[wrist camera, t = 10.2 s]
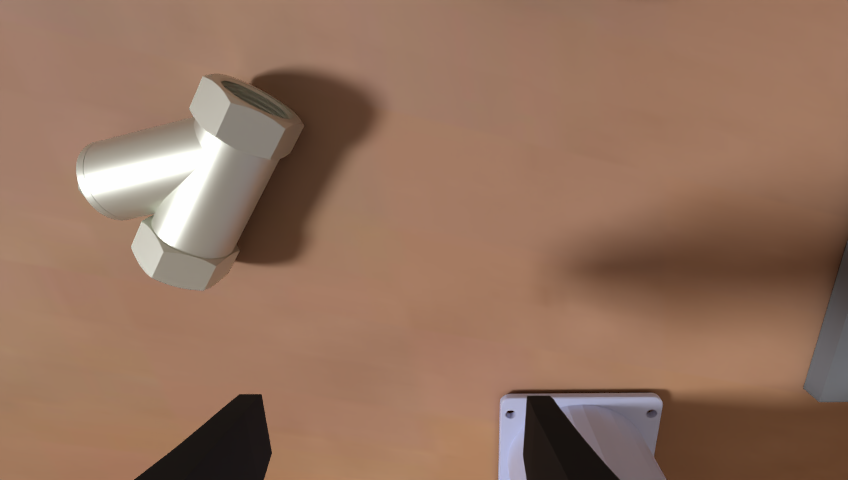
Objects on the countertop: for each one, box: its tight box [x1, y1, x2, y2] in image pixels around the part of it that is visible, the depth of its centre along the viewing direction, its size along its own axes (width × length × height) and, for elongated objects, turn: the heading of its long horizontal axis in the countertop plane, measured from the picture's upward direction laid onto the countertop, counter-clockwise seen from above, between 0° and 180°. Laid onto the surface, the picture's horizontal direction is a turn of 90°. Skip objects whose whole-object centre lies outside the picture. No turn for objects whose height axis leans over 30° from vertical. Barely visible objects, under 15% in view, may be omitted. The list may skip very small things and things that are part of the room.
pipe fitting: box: [76, 74, 304, 291], centre depth 18 cm, size 8×4×7 cm
